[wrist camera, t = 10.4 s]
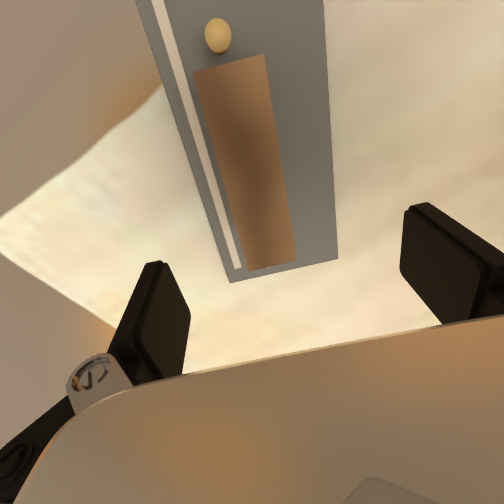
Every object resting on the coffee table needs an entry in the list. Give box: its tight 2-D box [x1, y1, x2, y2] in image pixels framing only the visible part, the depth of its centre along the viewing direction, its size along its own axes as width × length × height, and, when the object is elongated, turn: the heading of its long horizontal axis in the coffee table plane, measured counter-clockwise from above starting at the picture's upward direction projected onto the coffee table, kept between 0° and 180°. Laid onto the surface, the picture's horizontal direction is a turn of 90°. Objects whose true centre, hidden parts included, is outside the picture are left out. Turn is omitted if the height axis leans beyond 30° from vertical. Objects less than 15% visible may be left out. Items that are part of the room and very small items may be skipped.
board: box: [135, 0, 338, 283], centre depth 24 cm, size 13×28×6 cm, turn 12°
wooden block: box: [192, 54, 297, 272], centre depth 23 cm, size 4×14×8 cm, turn 12°
